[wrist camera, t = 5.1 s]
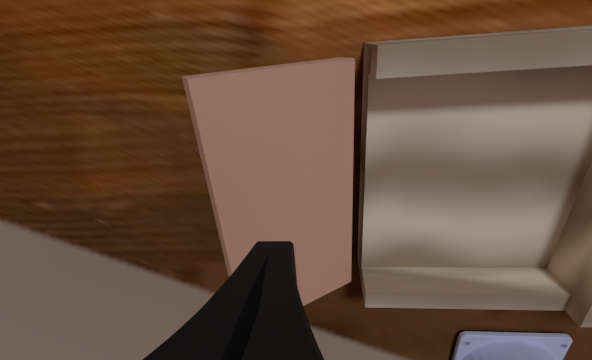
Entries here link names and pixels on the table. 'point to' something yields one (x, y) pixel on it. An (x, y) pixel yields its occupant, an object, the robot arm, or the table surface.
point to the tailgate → (281, 163)
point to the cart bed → (478, 172)
